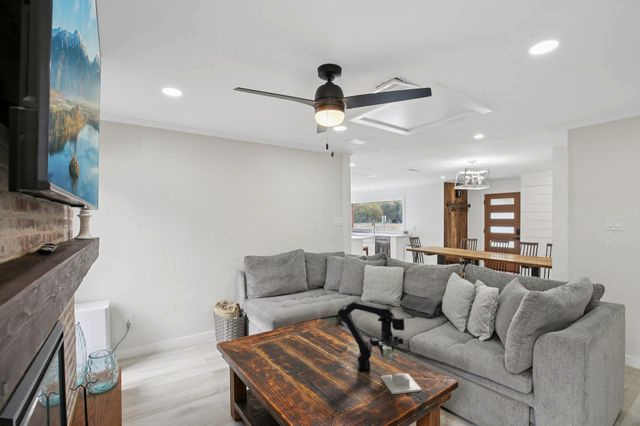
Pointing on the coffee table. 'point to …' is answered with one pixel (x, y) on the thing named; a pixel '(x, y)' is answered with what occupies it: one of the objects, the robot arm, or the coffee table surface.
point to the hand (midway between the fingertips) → (386, 355)
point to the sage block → (387, 353)
